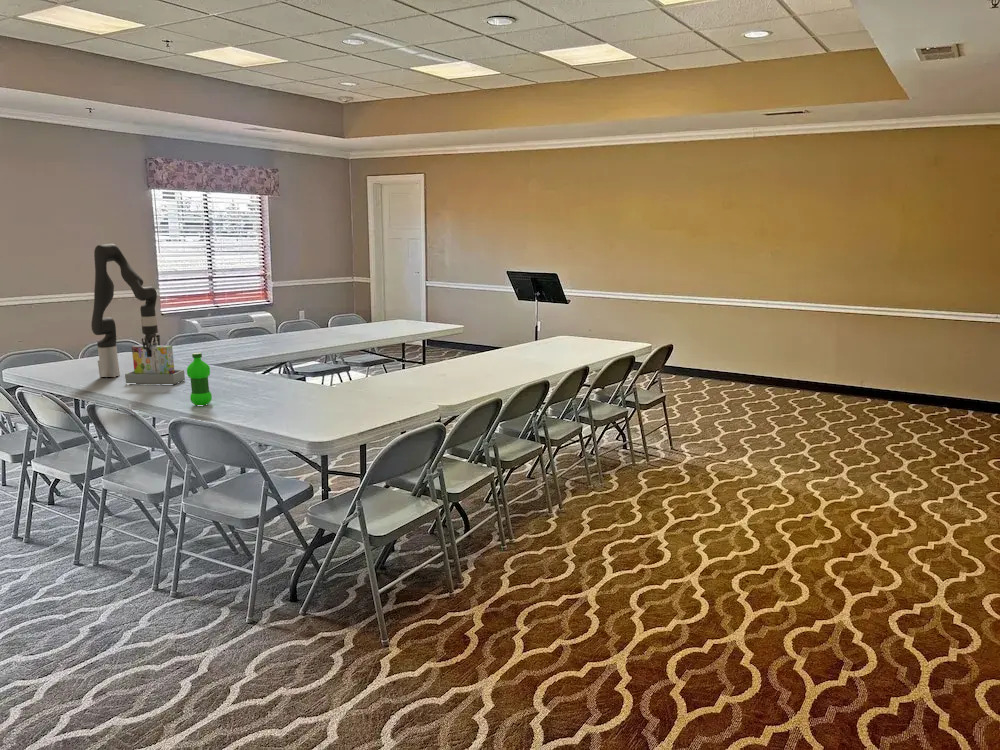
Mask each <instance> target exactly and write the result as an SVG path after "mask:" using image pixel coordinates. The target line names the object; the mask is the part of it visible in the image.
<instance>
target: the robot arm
mask: <svg viewBox="0 0 1000 750" xmlns="http://www.w3.org/2000/svg"><path fill="white" fill-rule="evenodd" d="M93 252H94V253H93V254H94V255H93V257H94V271H95V273H94V275H95V276H94V289H93V290H94V292H93V293H94V295H93V297H94V301H93V311H92V317H91V331H92V333H93V334H94V335H96V336H103V335H105V336H104V337H103V338H101V339H100V340H98V341H97V343H96V344H97V355H98V360H97V366H98V373H99V378H101V377H114V378H117V377H116V376H118V377H120V376H119V375H121V374H120V365H119V359H118V358H119V357H118V356H119V355H118V350H117V349H118V348H117V330H116V329H117V327H116V322H115V320H114V318H113V317H112V316H111V317H110V316H106V317H104V313H105V311H106V309H107V308H108V306H109V305H110V304H111V303H112V300H113V298H114V294H115V293H114V292H115V284H114V281H113V280H112V279H111V277H110V275H109V274H108V270H107V269H108V268H107V263H110V262H114V263H116V264H117V265H118V266H119V270H120V275H121V277H122V279H123V280H124V282H125V283H126V284H127V285H128V286H129V287H130V289H131V291H132V293H133V296H134V297H135V299H137V300H138V301H145V302H144V304H142V305H141V306H140V311H139V312H140V322H141V331H142V332H141V333H142V334H143V335H144V338H141V345H143V349H145V350H146V351H147V357H152V353H151V346H152V345H161V338H160V337H161V336H160V334H158V333H159V329H158V320H157V313H156V304H157V299H158V294H157V290H156V289H155V288H154V286H150V285H149V286H143V285H144V280H143V279H142V278H141V276H140V275H139V274H138V273H137V272H136V271H135V270H134V268H132V266H131V265H130V263H129V262H128V260H127V259H126V256H125V255H124V254H123V253H122V251H121V249H120V248H119V246H117V244H115V243H104V244H97V245H96V246H95V248H94V251H93ZM145 345H146V347H145Z"/></svg>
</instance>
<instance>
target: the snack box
mask: <svg viewBox="0 0 1000 750" xmlns="http://www.w3.org/2000/svg"><path fill="white" fill-rule="evenodd" d="M145 347H146V345H145ZM131 351H132V352H131V354H132V362H133V371H134V373H138V374H173V373H175V371H174V370H175V362H174V352H173V345H161V344H160V345H152V346H151V353H152V357H147V351H146V350H145V349H143V344H136V345H132V346H131Z"/></svg>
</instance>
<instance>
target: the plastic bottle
mask: <svg viewBox="0 0 1000 750" xmlns="http://www.w3.org/2000/svg"><path fill="white" fill-rule="evenodd" d="M191 354H192V356H191V357H192V358H193V361H192V362H191V363H190V364H188V366H187V369H186V375H187V377H188V378H190V385H191V386H190V387H191V393H190V397H189V399H190V402H191V403H192V404H193V405H194V406H196V405H206V404H208V405H209V404H210V403H211V401H212V399H213V396H212V393H211V390H210V386H209V385H210V384H209V376H210V374H211V370H210V369H211V367H210V365H209V364H207V363H206V362H205V361H203V360H202V358H203V354H202V352H194V353H193V352H192V353H191ZM206 406H207V405H206Z"/></svg>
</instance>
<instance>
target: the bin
mask: <svg viewBox="0 0 1000 750" xmlns="http://www.w3.org/2000/svg"><path fill="white" fill-rule="evenodd" d="M174 371H175V373H173V374H138V373H134V370H132V371H129V372H127V373H125V374H124V378H125V384H126V383H136V384H176V383H178V382H180V381H182V380H185V379H186V378H185V377H186V376H185V369H174ZM185 381H186V380H185ZM180 383H181V382H180ZM178 384H179V383H178ZM176 385H177V384H176Z"/></svg>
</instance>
